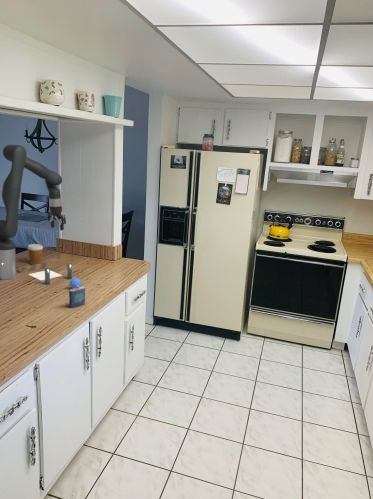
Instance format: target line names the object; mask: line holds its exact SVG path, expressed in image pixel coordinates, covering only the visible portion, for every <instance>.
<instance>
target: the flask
mask: <svg viewBox="0 0 373 499" xmlns="http://www.w3.org/2000/svg"><path fill="white" fill-rule="evenodd" d="M76 286H77V287H76V289H75V288H74V289H73V288H70V289H69V291H68V299H69V300H68V302H69V304H68V305H69V309H75V308H79V307H81V306H84V305H85V304H86V286H83V285H81V286H80V287H79V286H78V285H76Z"/></svg>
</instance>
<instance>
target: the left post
mask: <svg viewBox="0 0 373 499" xmlns="http://www.w3.org/2000/svg"><path fill="white" fill-rule="evenodd" d="M50 269H51V268H50V267H45V268H44V271H45V280H44V285H45V286H47V285H51V278H50Z"/></svg>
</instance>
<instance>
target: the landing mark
mask: <svg viewBox="0 0 373 499" xmlns="http://www.w3.org/2000/svg"><path fill="white" fill-rule="evenodd" d="M28 276H30V277H33V278H34V279H37V280H39V281H45V270H42V271H41V270H40V271H37V272H33V273H28ZM57 277H58V278H59V277H63V275H62V274H60V273H57V272H55V271H52V270H50V279H54V278H57Z"/></svg>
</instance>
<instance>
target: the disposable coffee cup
mask: <svg viewBox="0 0 373 499" xmlns="http://www.w3.org/2000/svg"><path fill="white" fill-rule="evenodd" d="M43 249H44V246H43V245H42V244H39V243H32V244H28V245H27V250H28V256H29V262H30V264H31V265H35V264H41V263H42V257H43V256H42V255H43Z"/></svg>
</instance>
